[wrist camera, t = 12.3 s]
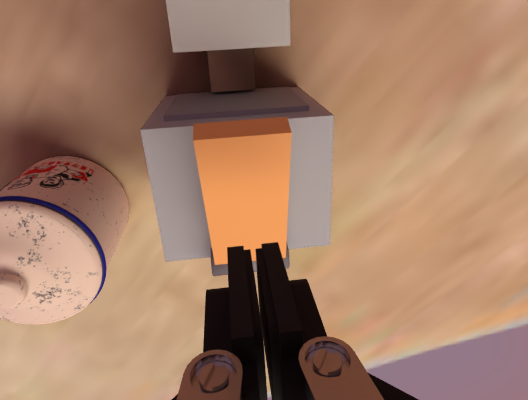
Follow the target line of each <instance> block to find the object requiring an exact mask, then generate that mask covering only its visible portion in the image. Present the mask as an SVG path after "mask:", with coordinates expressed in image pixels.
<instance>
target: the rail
mask: <svg viewBox="0 0 528 400" xmlns="http://www.w3.org/2000/svg"><path fill="white" fill-rule="evenodd" d="M207 56H208V66H209V75H210V84H211V92H223V91H238V90H252V89H256V87H255V70H254V53H253V48H243V49H227V50H210V51H207Z"/></svg>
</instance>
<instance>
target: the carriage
mask: <svg viewBox="0 0 528 400" xmlns="http://www.w3.org/2000/svg"><path fill="white" fill-rule="evenodd" d="M166 6H167V13H168V20H169V27H170V34H171V41H172V48H173V53H177V52H194V51H210V50H227V49H243V48H260V47H276V46H290V0H166Z"/></svg>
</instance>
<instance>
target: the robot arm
mask: <svg viewBox="0 0 528 400" xmlns="http://www.w3.org/2000/svg"><path fill="white" fill-rule="evenodd" d="M227 258H228V282H229V287H228V288H219V289H210V290H206V303H205V326H204V348H203V353H201V354H199V355H198V356H196V357H195V358H194V359H192V361H191V362H190V363H189V364H188V365H187V367H186V369H185V371H184V374H183V378H182V381H181V385H180V389H179V392H178V394H177V395H176V396H175V397H174V398H173V399H172V400H267V387H266V373H265V358H264V347H265V354H266V361H267V368H268V375H269V381H270V388H271V395H272V400H418V399H416V398H414V397H413V396H410V395H409V394H407V393H405V392H403V391H401V390H399V389H397V388H395V387H393V386H391V385H390V384H388V383H386V382H384V381H382V380H380V379H379V378H376V377H375V376H372V375H371V374H369V373H367V371H366V370H365V368H364V366H363V365H362V363H361V362H360V360H359V358H358V357H357V355H356V354H355V352H354V351H353V349H352V348H351V347H350V346H349V345H348V344H346V343H345V342H344V341H342V340H340V339H337V338H334V337H327V334H326V332H325V329H324V326H323V323H322V320H321V317H320V315H319V312H318V309H317V306H316V303H315V300H314V298H313V295H312V292H311V289H310V286H309V283H308V281H307V279H300V280H291V281H289V279H288V276H287V272H286V269H285V265H284V262H283V258H282V254H281V251H280V247H279V244H278V242H273V243H264V244H261V248H258V249H256V264H257V278H258V293H259V305H258V298H257V291H256V284H255V277H254V270H253V264H252V257H251V250H250V249H248V250H244V246H234V247H227ZM259 307H260V312H259ZM263 340H264V344H263Z"/></svg>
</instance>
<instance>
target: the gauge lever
mask: <svg viewBox="0 0 528 400" xmlns="http://www.w3.org/2000/svg"><path fill="white" fill-rule="evenodd" d="M291 137H292V132H291V129H290V125H289V122H288V118H287V117H277V118H264V119H250V120H237V121H223V122H210V123H197V124H194V126H193V143H194V148H195V154H196V160H197V165H198V171H199V177H200V183H201V188H202V194H203V200H204V205H205V211H206V217H207V222H208V228H209V234H210V240H211V245H212V248H211V267H212V274H213V276H220V275H228V258H227V247H234V246H244V250H248V249H250V250H251V257H252V264H253V270H254V272H257V264H256V249H258V248H261V244H264V243H273V242H278V244H279V247H280V251H281V254H282V258H283V262H284V265H285V269H287V268H289V266H290V261H289V251H288V245H287V221H288V200H289V179H290V158H291Z"/></svg>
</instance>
